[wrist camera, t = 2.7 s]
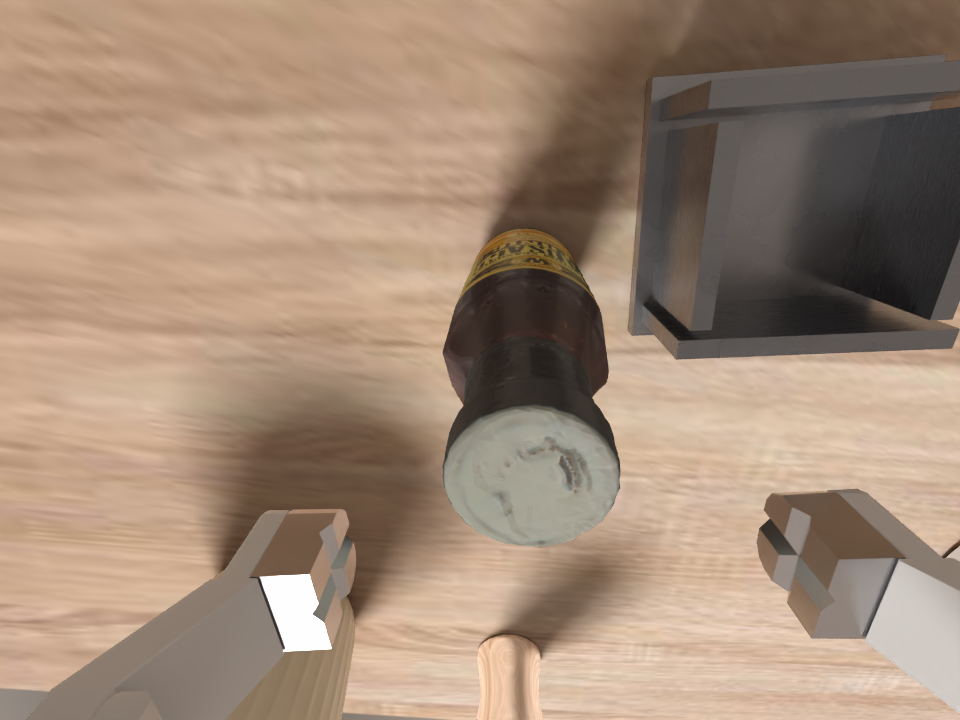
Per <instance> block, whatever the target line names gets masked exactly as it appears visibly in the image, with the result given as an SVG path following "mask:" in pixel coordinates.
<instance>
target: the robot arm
mask: <svg viewBox="0 0 960 720" xmlns="http://www.w3.org/2000/svg"><path fill="white" fill-rule="evenodd" d="M764 511H765V512H766V514H767V515H768V517H769V518H770V519H769V520H768V521H767V522H766V523H765V524H764V525H762V526H761V527H760V528H759V533H758V538H757V546H758V552H759V558H760V560H761V562H762V565H763V567H764V569H765V571H766V572H767V574H768V575H769V577H770V578H771V580H772V581H773V582H775V583H776V584H778V585H779V586H781V587H782V588H784V589H785V590H787V591H788V600H787V603H788V605H789V606H790V608H791V609H792V611H793V612H794V613H795V615H796V616H797V618H798V619H799V621H800V622H801V624H802V625H803V627H804V628H805V629H806V631H807V632H808V634H809V635H810V637H811V638H827V639H865V642H866V643H867V644H869V645H870V646H871V647H872V648H874V649H875V650H876V651H878V652H879V653H880V654H882V655H883V656H884V657H886V658H887V659H888V660H890V661H891V662H892V663H894V664H895V665H896V666H898V667H899V668H900V669H901V670H903V671H904V672H905V673H907V674H908V675H909V676H911V677H912V678H913V679H915V680H916V681H917V682H919V683H920V684H921V685H923V686H924V687H925V688H927V689H928V690H929V691H931V692H932V693H933V694H934V695H936V696H937V697H938V698H940V699H941V700H942V701H944V702H945V703H946V704H948V705H949V706H950V707H952V708H953V709H954V710H956V711H957V712H958V713H960V546H959V547H958V548H957V549H955V550H954V551H953V552H952V553H951V554H950V555H948V556H947V557H946V558H942V557H941V556H940V555H939V554H937V553H936V552H935V551H934V550H933V549H932V548H930V547H929V546H928V545H927V544H926V543H925V542H923V541H922V540H921V539H920V538H919V537H918V536H916V535H915V534H914V533H913V532H912V531H911V530H909V529H908V528H907V527H906V526H905V525H904V524H902V523H901V522H900V521H899V520H898V519H897V518H896V517H894V516H893V515H892V514H891V513H890V512H889V511H887V510H886V509H885V508H884V507H883V506H882V505H880V504H879V503H878V502H877V501H876V500H875V499H873V498H872V497H871V496H870V495H869V494H868V493H866V492H863V491H861V490H859V489H845V490H828V491H814V492H791V493H772V494H771V495H770V496H769V497H768V498H767V500H766V504H765V507H764ZM348 527H349V521H348V517H347V514H346V511H344V510H342V509H293V510H268V511H267V512H265V513H263V514H262V515H261V516H260V518H259V519H258V521H257V522H256V524H255V525H254V527H253V528H252V530H251V531H250V533H249V534H248V536H247V537H246V539H245V540H244V542H243V543H242V545H241V546H240V548H239V549H238V551H237V552H236V554H235V555H234V557H233V558H232V560H231V561H230V563H229V564H228V566H227V567H226V569H225V570H224V572H223V573H222V575H221V576H220V578H219V579H211V580H209V581H208V582H206V583H205V584H203V585H202V586H200V587H199V588H197V589H196V590H195V591H193V592H192V593H190V594H189V595H187V596H186V597H184V598H183V599H182V600H180V601H179V602H177V603H176V604H174V605H173V606H171V607H170V608H169V609H167V610H166V611H164V612H163V613H161V614H160V615H158V616H157V617H156V618H154V619H153V620H151V621H150V622H148V623H147V624H145V625H144V626H142V627H141V628H140V629H138V630H137V631H135V632H134V633H132V634H131V635H129V636H128V637H127V638H125V639H124V640H122V641H121V642H119V643H118V644H116V645H115V646H114V647H112V648H111V649H109V650H108V651H106V652H105V653H103V654H102V655H100V656H99V657H98V658H96V659H95V660H93V661H92V662H90V663H89V664H87V665H86V666H85V667H83V668H82V669H80V670H79V671H77V672H76V673H74V674H73V675H72V676H70V677H69V678H67V679H66V680H64V681H63V682H61V683H60V684H59V685H57V686H56V687H54V688H53V689H51V691H50V692H49V693H48V694H47V695H46V697H45V698H44V699H43V700H42V701H41V702H40V704H39V705H38V706H37V707H36V708H35V710H34V711H33V712H32V713H31V714H30V716H29V717H28V718H27V719H26V720H225V719H226V718H227V717H228V716H229V715H230V714H231V713H232V712H233V710H234V709H235V708H236V707H237V706H238V705H239V704H240V703H241V702H242V701H243V699H244V698H245V697H246V696H247V695H248V694H249V693H250V692H251V691H252V690H253V688H254V687H255V686H256V685H257V684H258V683H259V682H260V681H261V680H262V678H263V677H264V676H265V675H266V674H267V673H268V672H269V671H270V670H271V669H272V667H273V666H274V665H275V664H276V663H277V662H278V661H279V660H280V659H281V658H282V656H283V655H284V651H296V650H315V649H331V648H332V645H333V642H334V639H335V636H336V633H337V630H338V627H339V624H340V621H341V618H342V615H343V612H342V608H341V604H340V601H341V600H342V599H343V598H345V597H346V596H347V595H348V594H349V593H350V591H351V588H352V584H353V581H354V577H355V569H356V550H355V546H354V541H352V540H351V539H350V538H349V537H348V536H347V535H346V532H347V529H348Z"/></svg>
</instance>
